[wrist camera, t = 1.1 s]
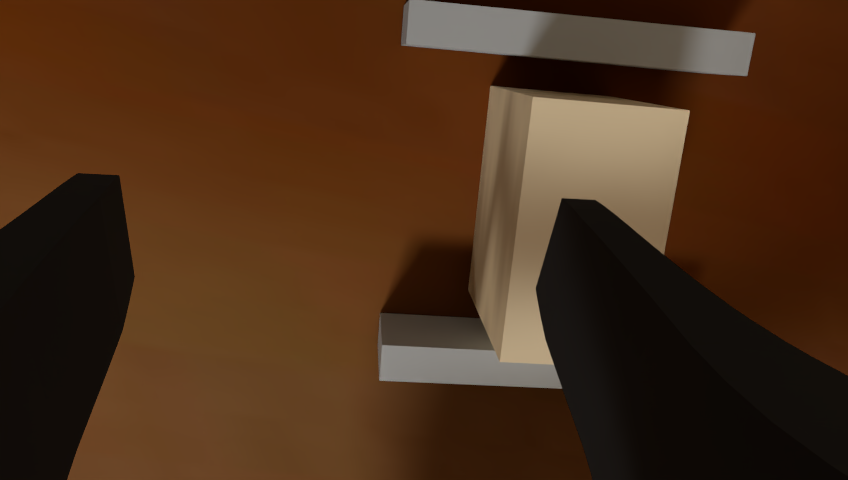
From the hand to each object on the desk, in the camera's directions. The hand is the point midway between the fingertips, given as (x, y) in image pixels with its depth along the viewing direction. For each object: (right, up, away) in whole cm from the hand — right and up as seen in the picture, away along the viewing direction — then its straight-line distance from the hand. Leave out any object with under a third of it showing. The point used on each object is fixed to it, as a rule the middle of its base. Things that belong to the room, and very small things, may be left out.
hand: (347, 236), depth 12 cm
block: (+5, +1, +12) cm, 13 cm away
